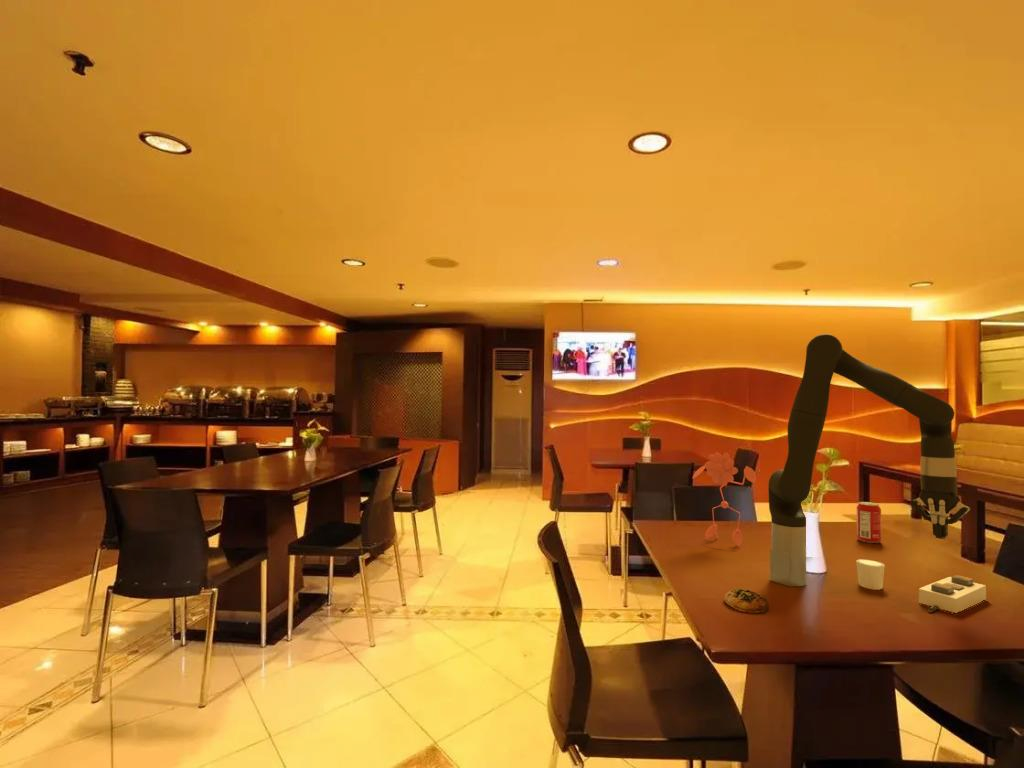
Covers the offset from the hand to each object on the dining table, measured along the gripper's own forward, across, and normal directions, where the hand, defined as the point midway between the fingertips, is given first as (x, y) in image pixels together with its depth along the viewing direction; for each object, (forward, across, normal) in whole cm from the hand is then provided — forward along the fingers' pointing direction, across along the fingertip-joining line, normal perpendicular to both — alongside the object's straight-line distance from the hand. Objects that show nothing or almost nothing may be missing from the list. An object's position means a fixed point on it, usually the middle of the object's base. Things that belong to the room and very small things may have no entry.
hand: (940, 538), depth 136 cm
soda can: (+18, -41, +54) cm, 70 cm away
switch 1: (+15, 0, -1) cm, 15 cm away
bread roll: (+17, -26, -47) cm, 57 cm away
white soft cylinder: (+18, -17, -1) cm, 25 cm away
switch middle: (+16, 0, +6) cm, 17 cm away
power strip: (+18, 0, +3) cm, 18 cm away
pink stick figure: (+17, -67, -2) cm, 69 cm away
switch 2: (+15, 0, +12) cm, 19 cm away
